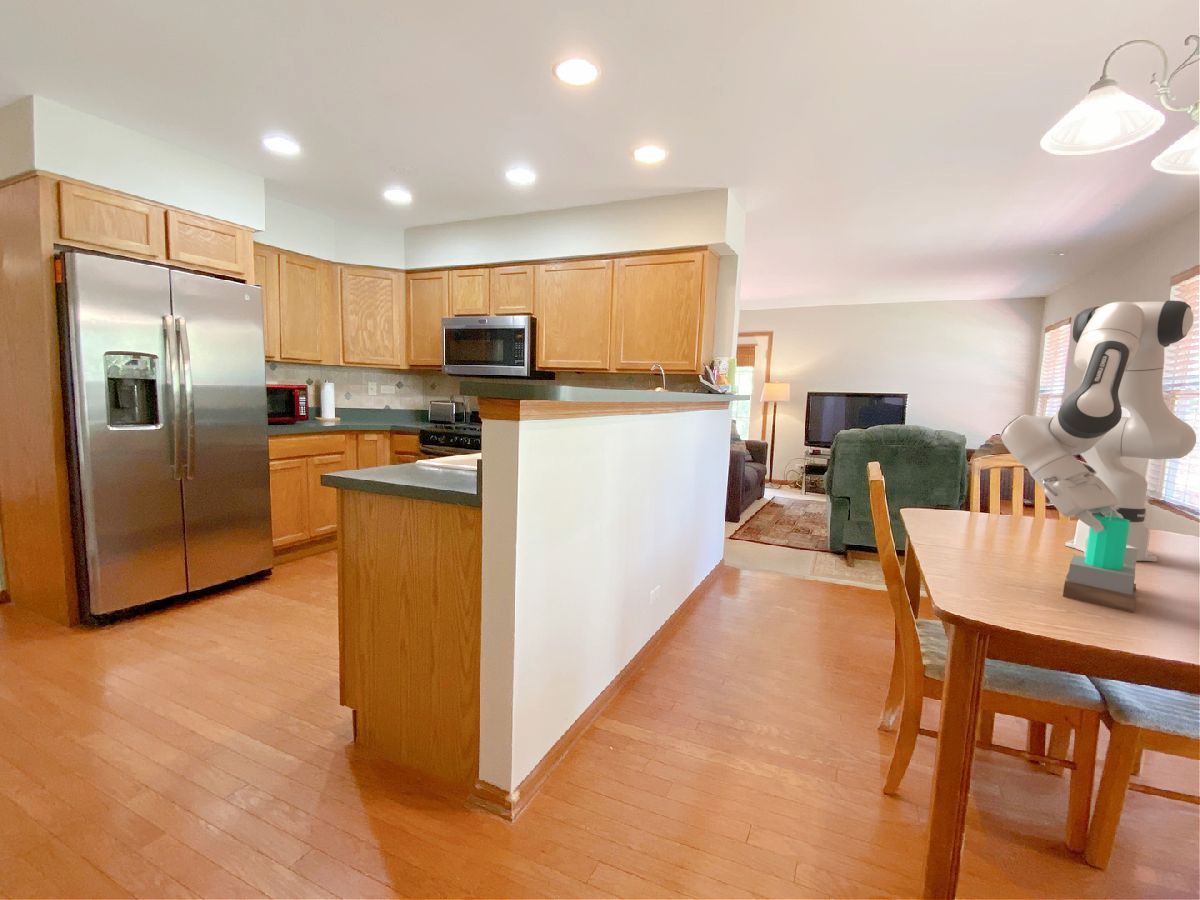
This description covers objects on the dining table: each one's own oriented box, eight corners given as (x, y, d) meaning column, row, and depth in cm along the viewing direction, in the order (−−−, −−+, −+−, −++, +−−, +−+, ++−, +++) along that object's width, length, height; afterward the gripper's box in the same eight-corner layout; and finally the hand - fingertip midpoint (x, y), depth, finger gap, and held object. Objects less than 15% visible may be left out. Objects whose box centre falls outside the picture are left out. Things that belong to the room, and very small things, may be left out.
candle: (1123, 566, 114) (1131, 512, 113) (1121, 571, 110) (1130, 515, 109) (1086, 559, 119) (1093, 506, 117) (1083, 564, 114) (1091, 510, 113)
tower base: (1066, 586, 123) (1069, 570, 123) (1133, 601, 116) (1135, 583, 115) (1062, 598, 116) (1064, 581, 115) (1133, 615, 108) (1136, 596, 107)
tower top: (1071, 571, 122) (1073, 554, 122) (1132, 583, 115) (1134, 566, 115) (1067, 581, 115) (1070, 563, 115) (1132, 595, 108) (1135, 576, 108)
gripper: (1053, 470, 113) (1105, 525, 106) (1095, 466, 123) (1146, 517, 115) (1026, 486, 118) (1074, 541, 110) (1068, 482, 127) (1116, 531, 120)
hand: (1111, 528), depth 113 cm, fingers open, 8 cm apart
